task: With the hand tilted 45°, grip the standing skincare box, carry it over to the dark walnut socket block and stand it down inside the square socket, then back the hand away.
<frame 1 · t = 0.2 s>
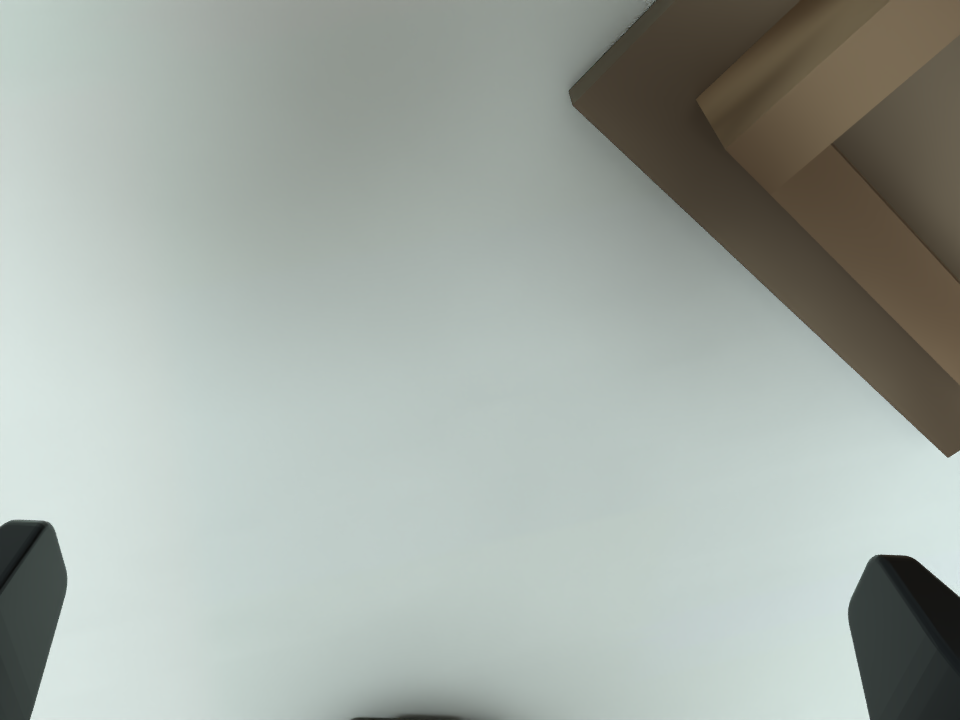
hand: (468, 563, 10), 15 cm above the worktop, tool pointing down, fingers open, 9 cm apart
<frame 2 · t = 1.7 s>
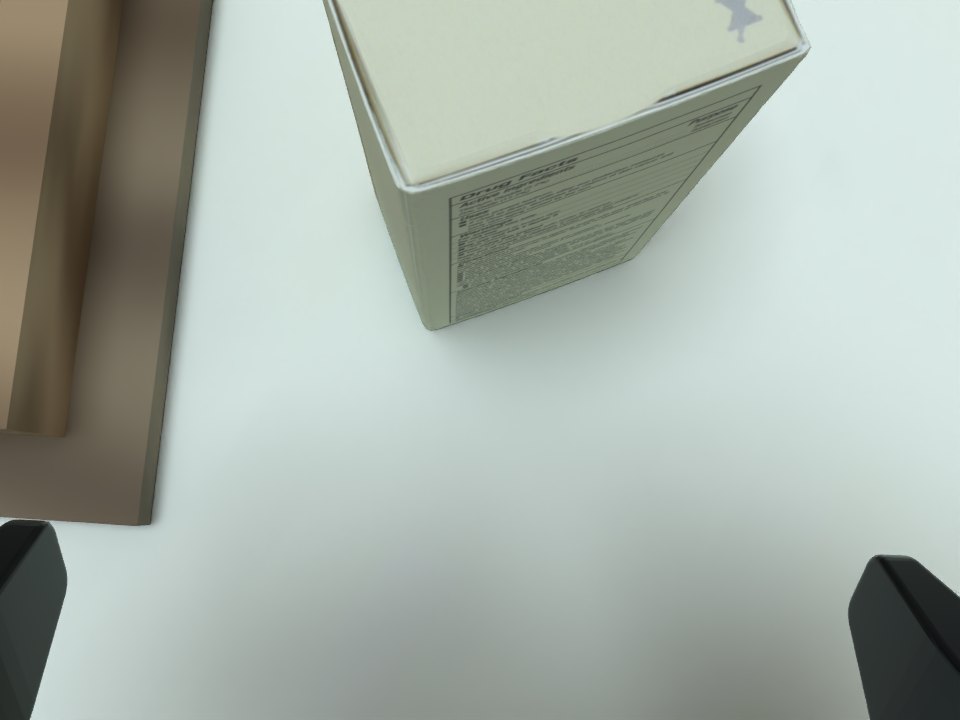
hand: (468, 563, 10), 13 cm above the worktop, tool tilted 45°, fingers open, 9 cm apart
skincare box: (502, 231, 25), on the worktop
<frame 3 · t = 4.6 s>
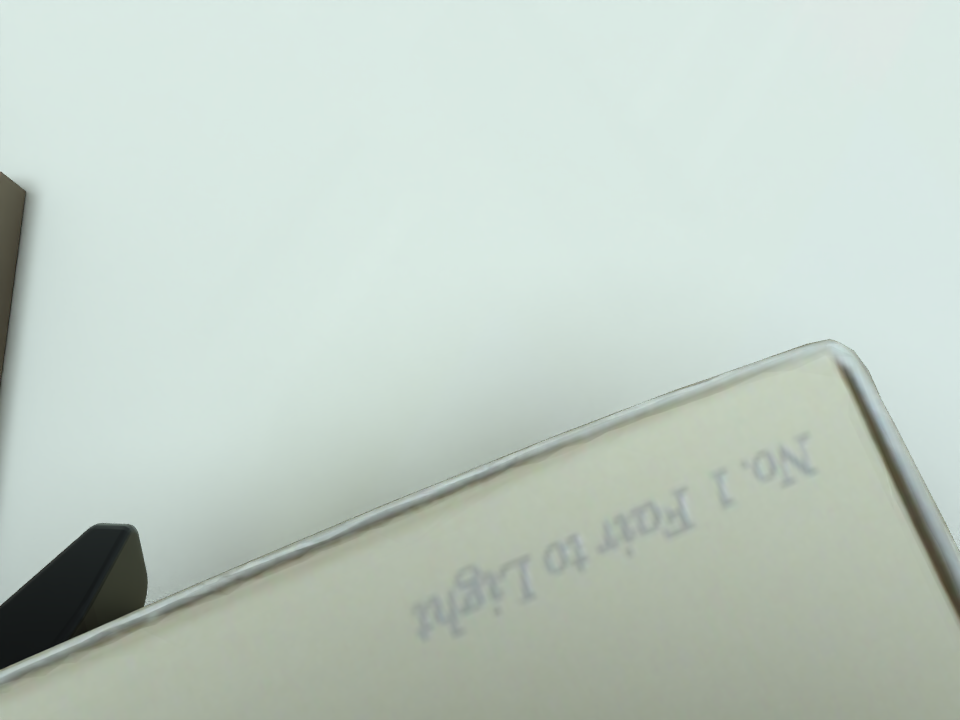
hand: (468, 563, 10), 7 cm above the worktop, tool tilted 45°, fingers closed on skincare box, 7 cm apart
skincare box: (449, 620, 17), on the worktop, touching gripper
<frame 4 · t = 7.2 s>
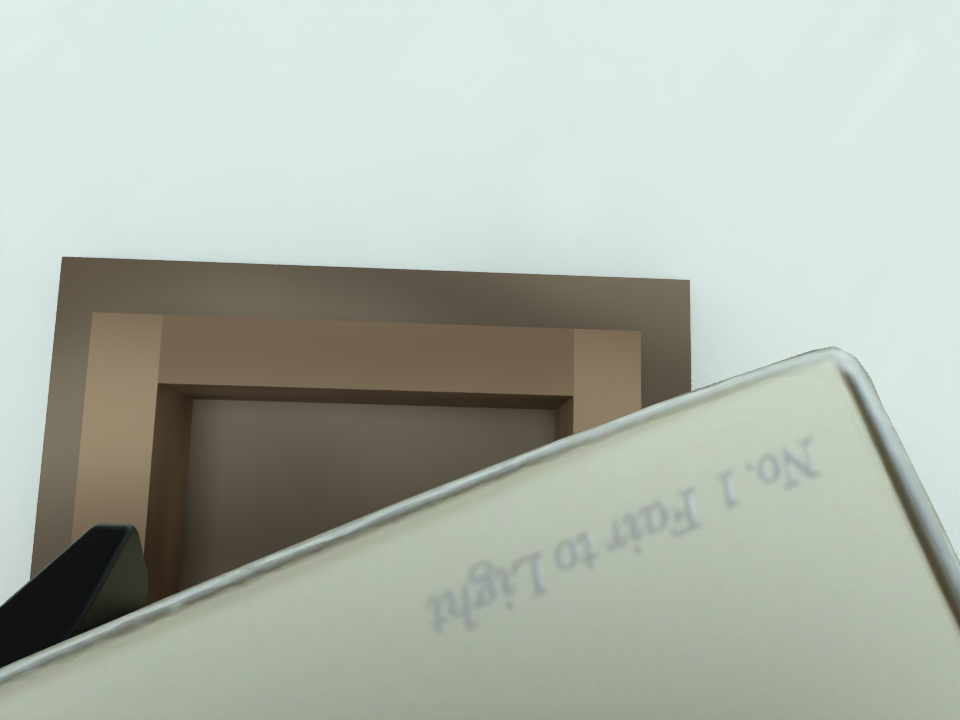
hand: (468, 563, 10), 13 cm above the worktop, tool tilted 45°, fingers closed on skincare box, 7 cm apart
skincare box: (447, 616, 17), point 6 cm above the worktop, touching gripper
socket: (370, 585, 23), on the worktop
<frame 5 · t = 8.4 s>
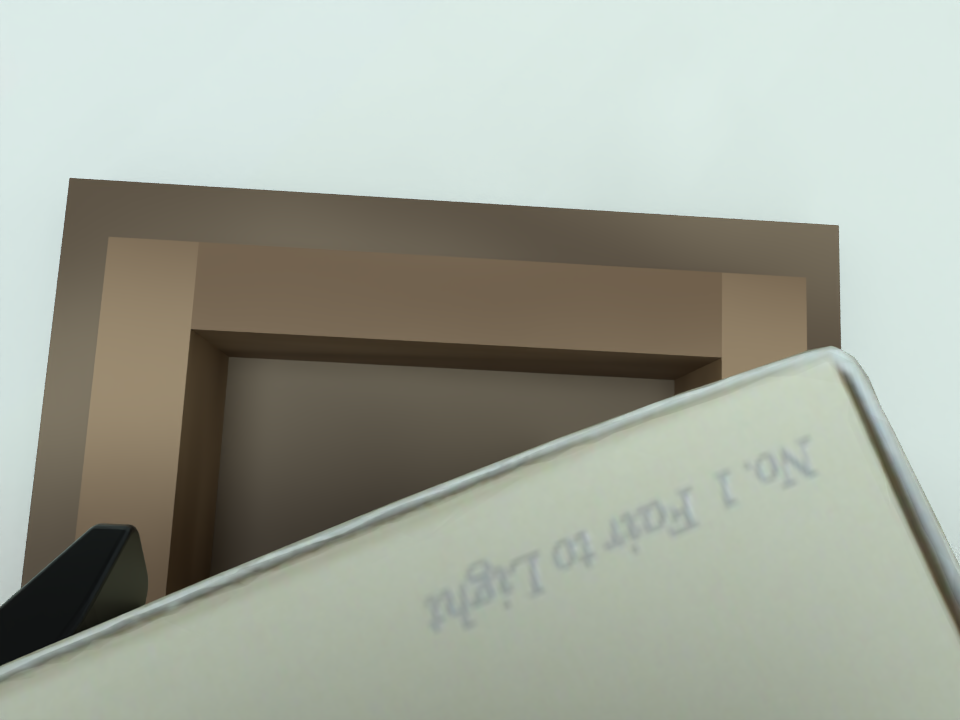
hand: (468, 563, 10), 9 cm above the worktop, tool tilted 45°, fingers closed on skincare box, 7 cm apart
skincare box: (445, 616, 17), point 2 cm above the worktop, touching gripper
socket: (442, 592, 19), on the worktop
when the fingers open (8 cm above the worktop, at t = 9.7 s): skincare box stays where it is, resting on socket.
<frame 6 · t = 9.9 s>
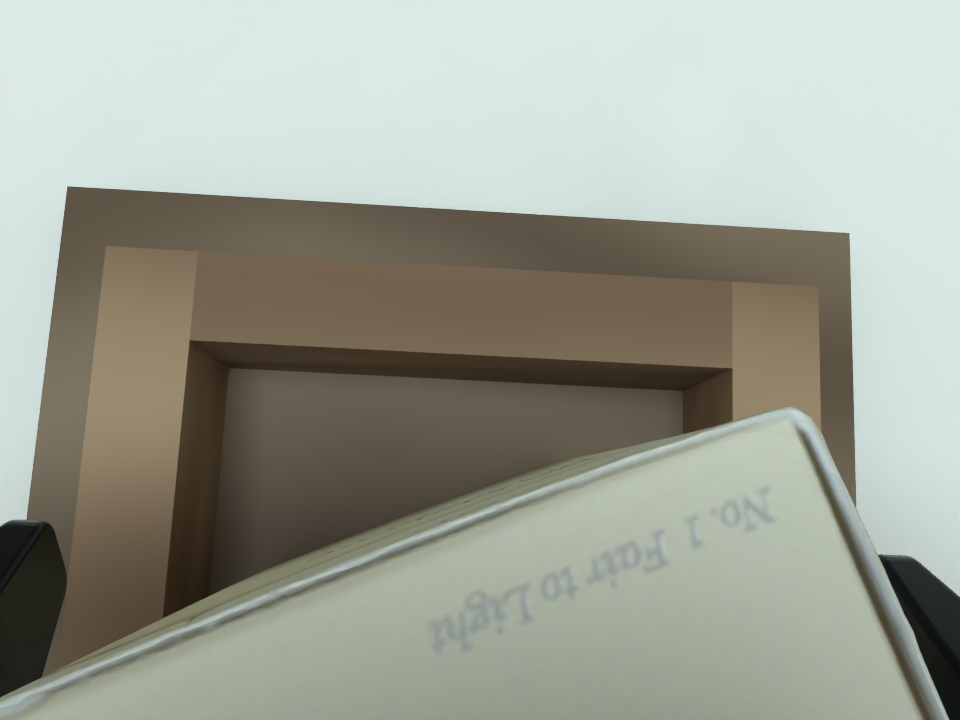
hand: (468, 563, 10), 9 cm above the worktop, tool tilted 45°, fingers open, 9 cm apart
skincare box: (449, 623, 17), point 1 cm above the worktop, touching socket
socket: (446, 608, 18), on the worktop
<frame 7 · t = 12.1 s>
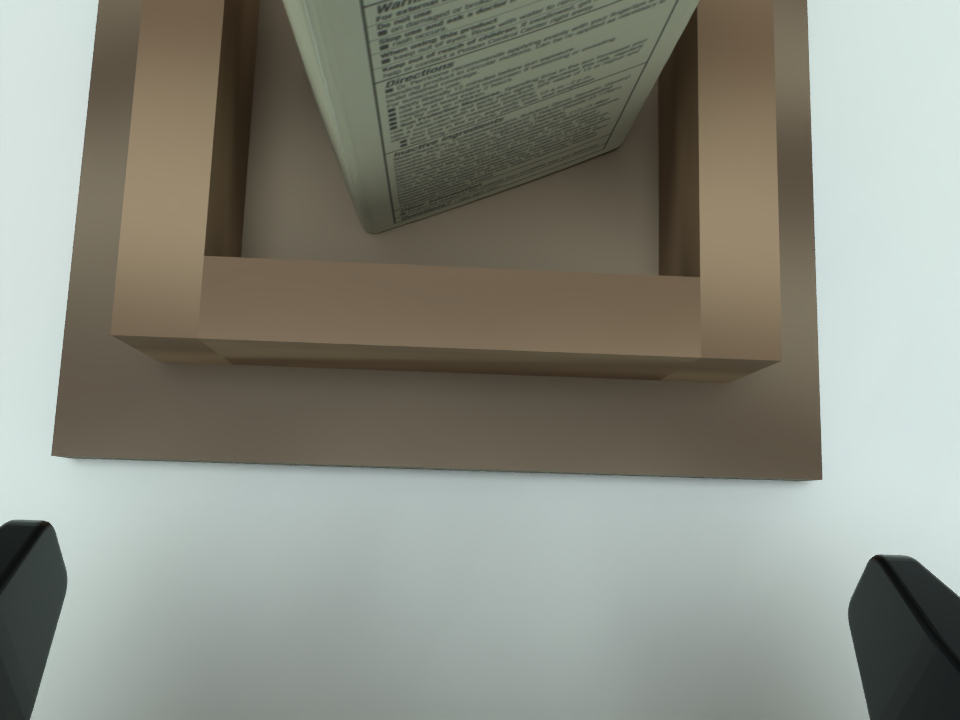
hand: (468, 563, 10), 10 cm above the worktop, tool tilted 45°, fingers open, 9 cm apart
skincare box: (459, 117, 20), point 1 cm above the worktop, touching socket
socket: (456, 123, 21), on the worktop
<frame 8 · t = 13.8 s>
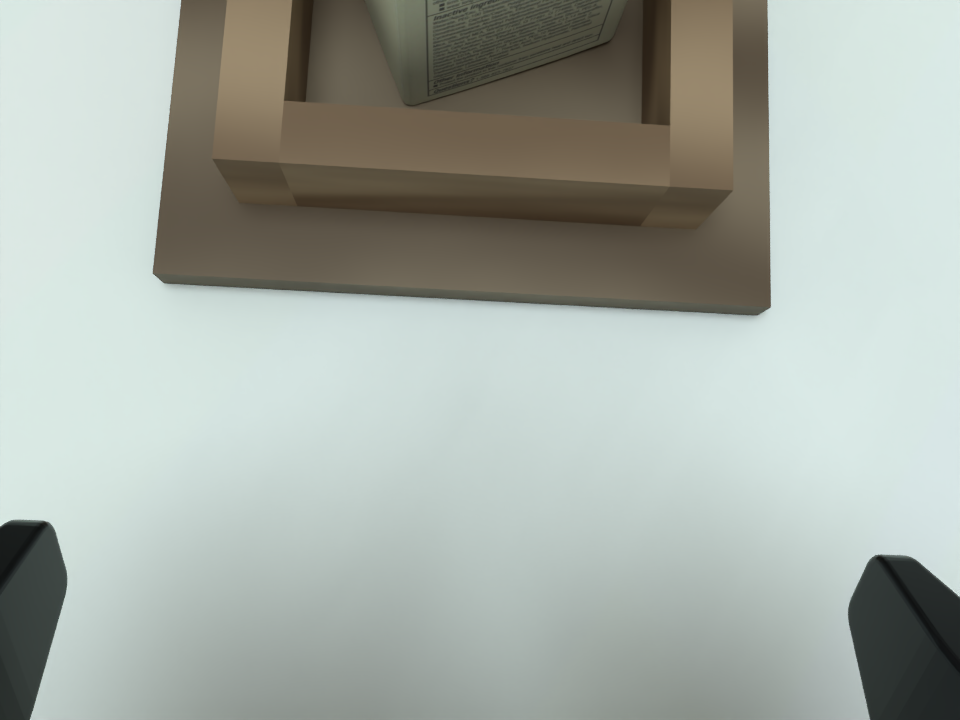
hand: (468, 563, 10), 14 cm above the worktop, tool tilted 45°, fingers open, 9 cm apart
skincare box: (480, 16, 25), point 1 cm above the worktop, touching socket
socket: (477, 24, 26), on the worktop
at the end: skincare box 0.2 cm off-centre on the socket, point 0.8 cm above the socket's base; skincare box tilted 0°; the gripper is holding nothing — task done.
